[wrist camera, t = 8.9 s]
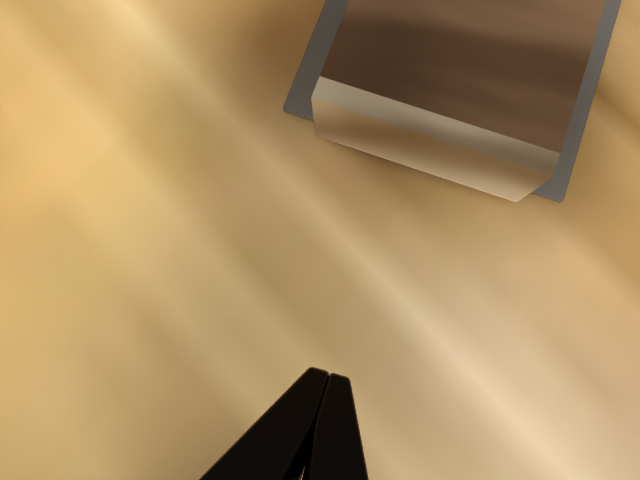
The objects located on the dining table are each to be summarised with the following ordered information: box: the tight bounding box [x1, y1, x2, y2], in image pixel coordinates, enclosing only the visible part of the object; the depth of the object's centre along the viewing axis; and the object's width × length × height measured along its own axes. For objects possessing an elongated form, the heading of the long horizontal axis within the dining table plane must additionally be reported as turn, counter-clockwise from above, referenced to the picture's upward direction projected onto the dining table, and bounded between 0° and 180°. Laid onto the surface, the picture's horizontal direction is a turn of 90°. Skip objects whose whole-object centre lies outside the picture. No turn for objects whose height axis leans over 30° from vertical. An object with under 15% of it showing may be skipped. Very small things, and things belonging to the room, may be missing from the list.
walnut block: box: [311, 0, 606, 203], centre depth 22 cm, size 4×10×9 cm
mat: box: [283, 0, 621, 202], centre depth 25 cm, size 12×14×1 cm
